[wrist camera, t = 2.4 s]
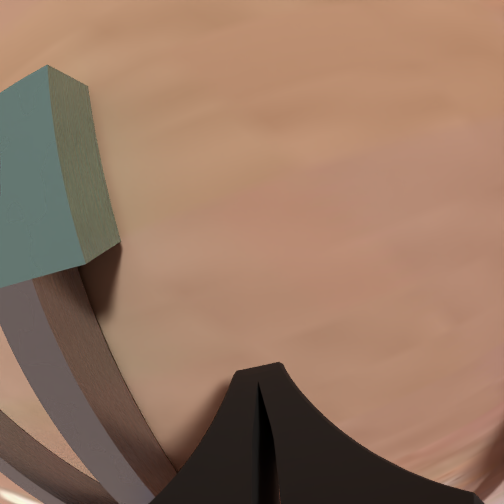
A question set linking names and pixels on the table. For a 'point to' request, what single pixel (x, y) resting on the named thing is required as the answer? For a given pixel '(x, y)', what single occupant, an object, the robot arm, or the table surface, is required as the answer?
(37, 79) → the tong free arm
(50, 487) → the tong fixed arm
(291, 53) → the table surface
